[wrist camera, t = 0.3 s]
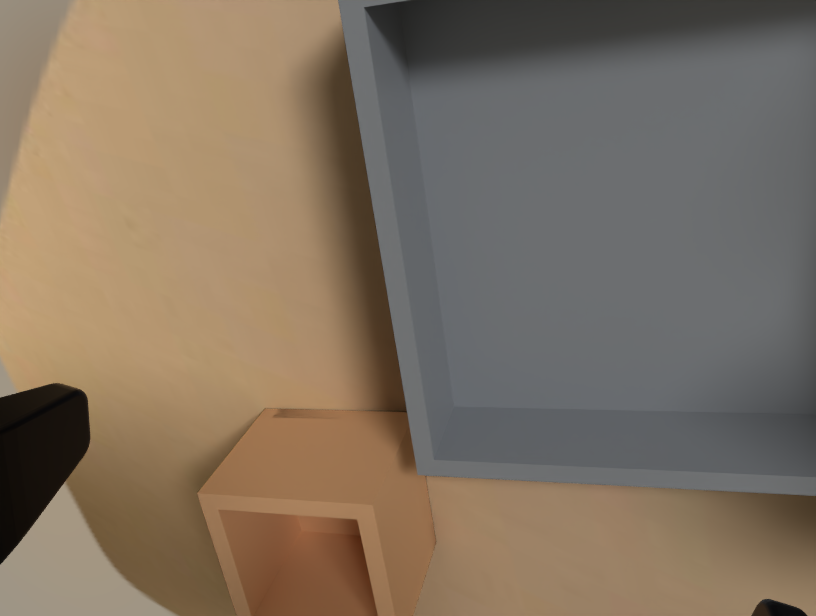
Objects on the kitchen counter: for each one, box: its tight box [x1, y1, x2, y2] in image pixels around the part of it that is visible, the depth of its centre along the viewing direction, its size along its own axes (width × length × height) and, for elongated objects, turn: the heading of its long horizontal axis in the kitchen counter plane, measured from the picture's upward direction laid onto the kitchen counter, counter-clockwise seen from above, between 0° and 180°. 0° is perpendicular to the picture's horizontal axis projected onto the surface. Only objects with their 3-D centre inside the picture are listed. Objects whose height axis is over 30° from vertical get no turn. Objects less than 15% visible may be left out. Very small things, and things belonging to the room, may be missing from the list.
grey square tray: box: [338, 0, 816, 496], centre depth 19 cm, size 14×14×4 cm
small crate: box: [197, 409, 436, 616], centre depth 25 cm, size 6×6×5 cm
